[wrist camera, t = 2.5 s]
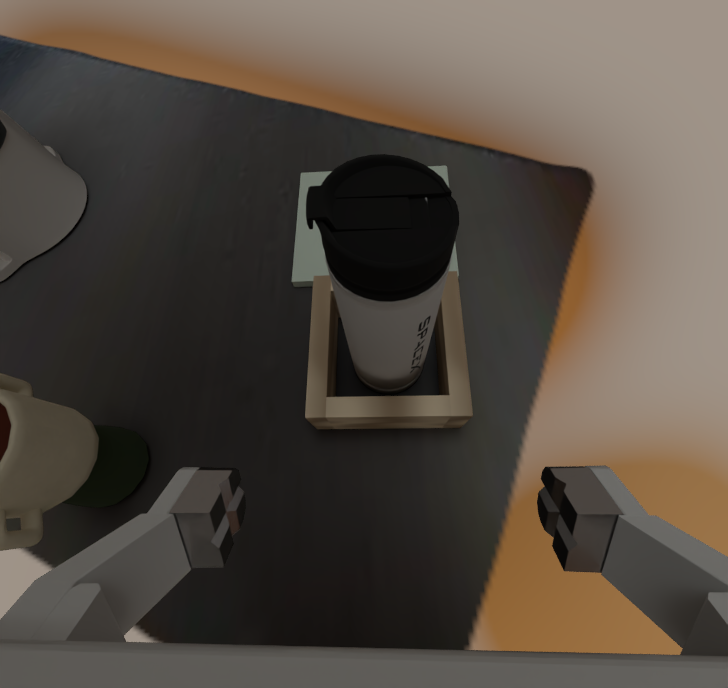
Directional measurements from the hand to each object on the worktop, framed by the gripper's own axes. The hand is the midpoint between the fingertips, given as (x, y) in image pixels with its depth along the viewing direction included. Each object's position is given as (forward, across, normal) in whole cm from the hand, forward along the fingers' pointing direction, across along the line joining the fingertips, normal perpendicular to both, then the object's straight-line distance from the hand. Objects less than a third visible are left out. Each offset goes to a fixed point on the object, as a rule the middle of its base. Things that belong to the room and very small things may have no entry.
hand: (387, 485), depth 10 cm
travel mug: (+23, 0, +7) cm, 24 cm away
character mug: (+16, +23, +14) cm, 31 cm away
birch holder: (+23, 0, +7) cm, 24 cm away
